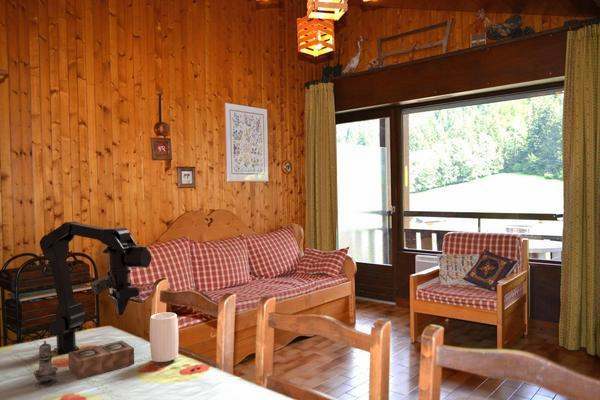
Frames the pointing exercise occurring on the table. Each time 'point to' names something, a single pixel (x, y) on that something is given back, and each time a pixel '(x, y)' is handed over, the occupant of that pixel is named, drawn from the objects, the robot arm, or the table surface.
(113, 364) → the walnut block
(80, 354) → the peg near
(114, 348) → the peg far
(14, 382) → the table surface
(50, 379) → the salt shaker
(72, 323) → the robot arm
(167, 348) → the cup
